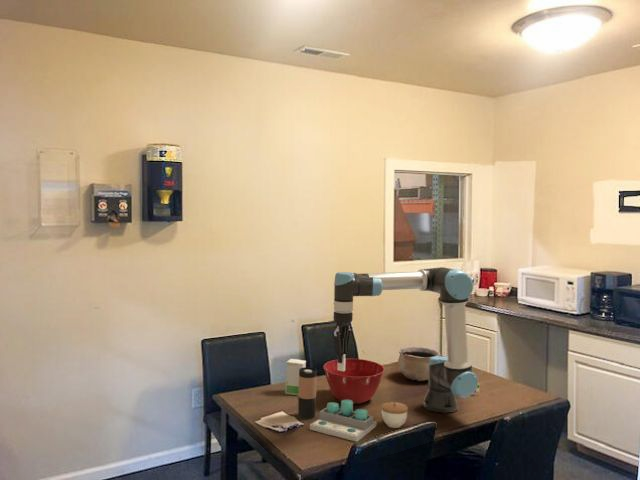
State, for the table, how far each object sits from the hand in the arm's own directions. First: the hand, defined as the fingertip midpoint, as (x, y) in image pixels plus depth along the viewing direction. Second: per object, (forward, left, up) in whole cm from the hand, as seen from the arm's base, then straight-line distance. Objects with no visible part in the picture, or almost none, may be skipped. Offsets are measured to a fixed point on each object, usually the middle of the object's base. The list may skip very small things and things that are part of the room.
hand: (341, 370), depth 211 cm
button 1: (-7, -6, -22) cm, 24 cm away
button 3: (+6, -6, -22) cm, 24 cm away
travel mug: (+19, -6, -25) cm, 32 cm away
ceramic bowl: (-3, -84, -25) cm, 88 cm away
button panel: (0, -4, -25) cm, 25 cm away
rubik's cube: (-33, -76, -25) cm, 86 cm away
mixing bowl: (+12, -36, -25) cm, 45 cm away
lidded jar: (-16, -18, -25) cm, 35 cm away
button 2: (0, -6, -19) cm, 20 cm away
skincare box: (+39, -28, -25) cm, 54 cm away
